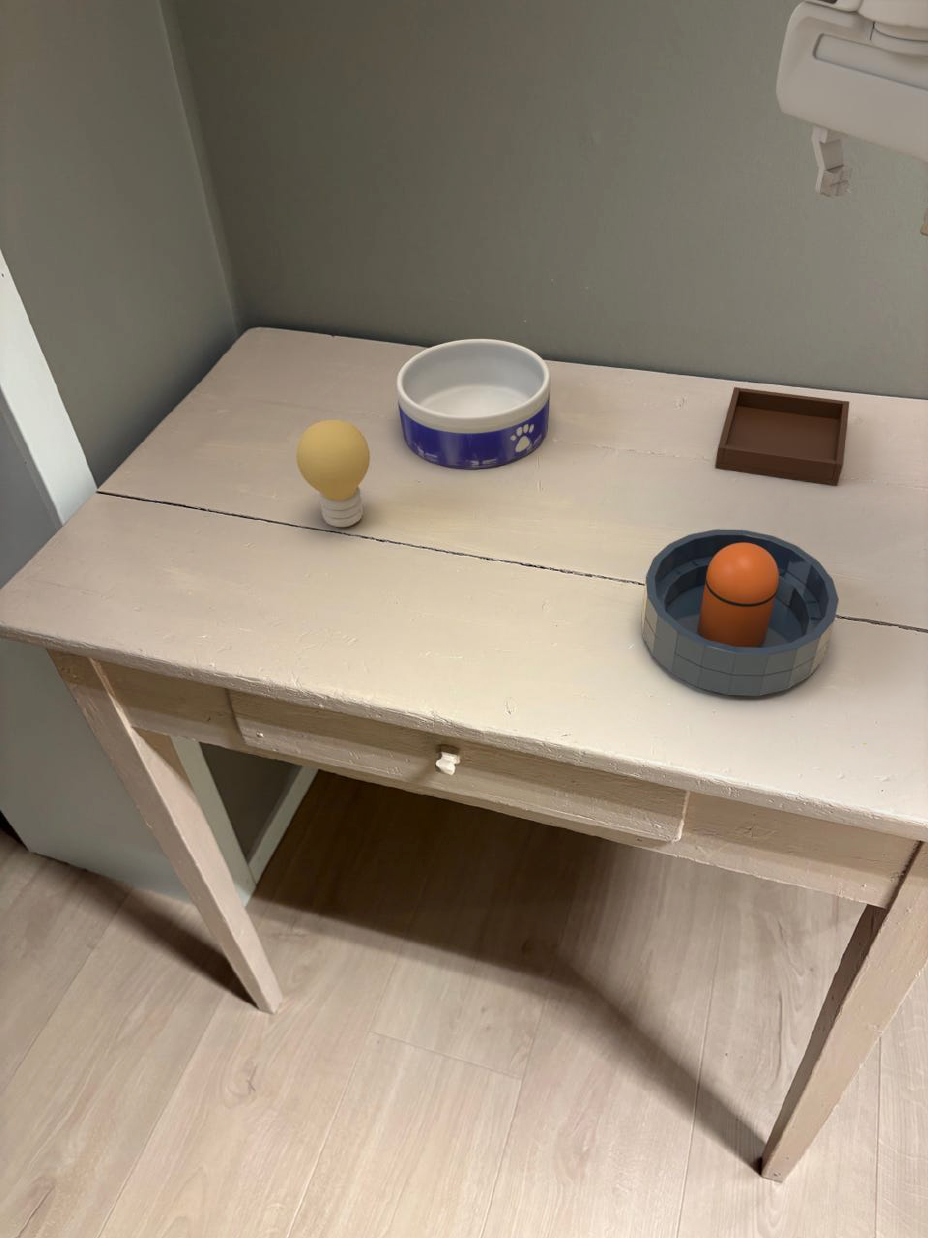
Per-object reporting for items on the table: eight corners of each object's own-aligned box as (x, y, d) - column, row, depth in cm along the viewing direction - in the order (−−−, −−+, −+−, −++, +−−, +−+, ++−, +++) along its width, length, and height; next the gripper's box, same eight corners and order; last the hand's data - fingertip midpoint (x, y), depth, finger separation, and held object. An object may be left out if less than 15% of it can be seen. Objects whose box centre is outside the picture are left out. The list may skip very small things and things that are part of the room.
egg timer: (781, 635, 75) (801, 556, 69) (729, 662, 73) (746, 584, 67) (734, 597, 78) (749, 519, 72) (683, 622, 76) (695, 544, 71)
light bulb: (310, 501, 91) (292, 409, 84) (377, 495, 91) (365, 403, 84) (308, 543, 86) (289, 450, 80) (379, 537, 87) (365, 443, 80)
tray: (844, 422, 96) (849, 401, 95) (837, 486, 89) (843, 464, 87) (730, 407, 99) (734, 386, 98) (714, 467, 92) (718, 446, 90)
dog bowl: (491, 488, 91) (489, 434, 87) (370, 439, 98) (363, 387, 94) (578, 415, 100) (580, 363, 95) (461, 375, 107) (458, 324, 102)
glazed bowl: (862, 651, 74) (879, 604, 70) (724, 729, 69) (734, 682, 65) (736, 554, 83) (745, 508, 79) (605, 617, 78) (609, 571, 74)
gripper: (1140, -1, 51) (1044, 253, 61) (850, -52, 64) (808, 163, 74) (1063, 19, 49) (976, 278, 59) (779, -39, 62) (746, 182, 72)
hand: (881, 214), depth 67 cm, fingers open, 8 cm apart
